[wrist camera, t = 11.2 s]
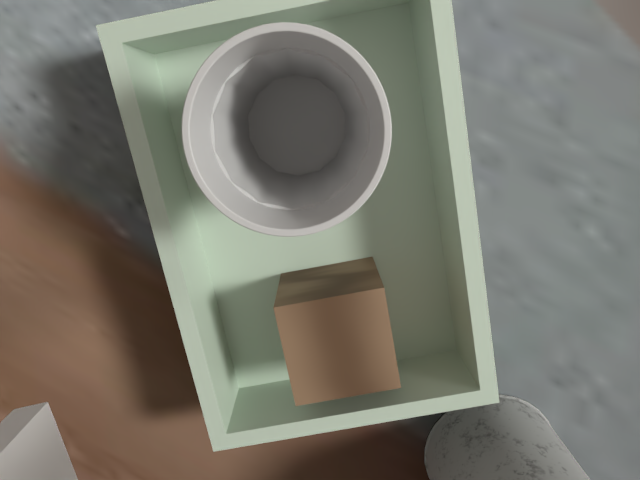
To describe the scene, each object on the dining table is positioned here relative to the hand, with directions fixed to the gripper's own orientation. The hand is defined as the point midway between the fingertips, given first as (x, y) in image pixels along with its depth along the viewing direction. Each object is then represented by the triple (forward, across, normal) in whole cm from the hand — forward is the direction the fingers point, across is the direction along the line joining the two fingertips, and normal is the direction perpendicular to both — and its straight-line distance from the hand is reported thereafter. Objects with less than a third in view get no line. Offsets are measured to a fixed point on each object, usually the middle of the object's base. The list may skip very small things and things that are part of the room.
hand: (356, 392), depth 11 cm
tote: (+23, 0, 0) cm, 23 cm away
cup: (+22, 0, +6) cm, 23 cm away
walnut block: (+22, -1, -6) cm, 23 cm away
